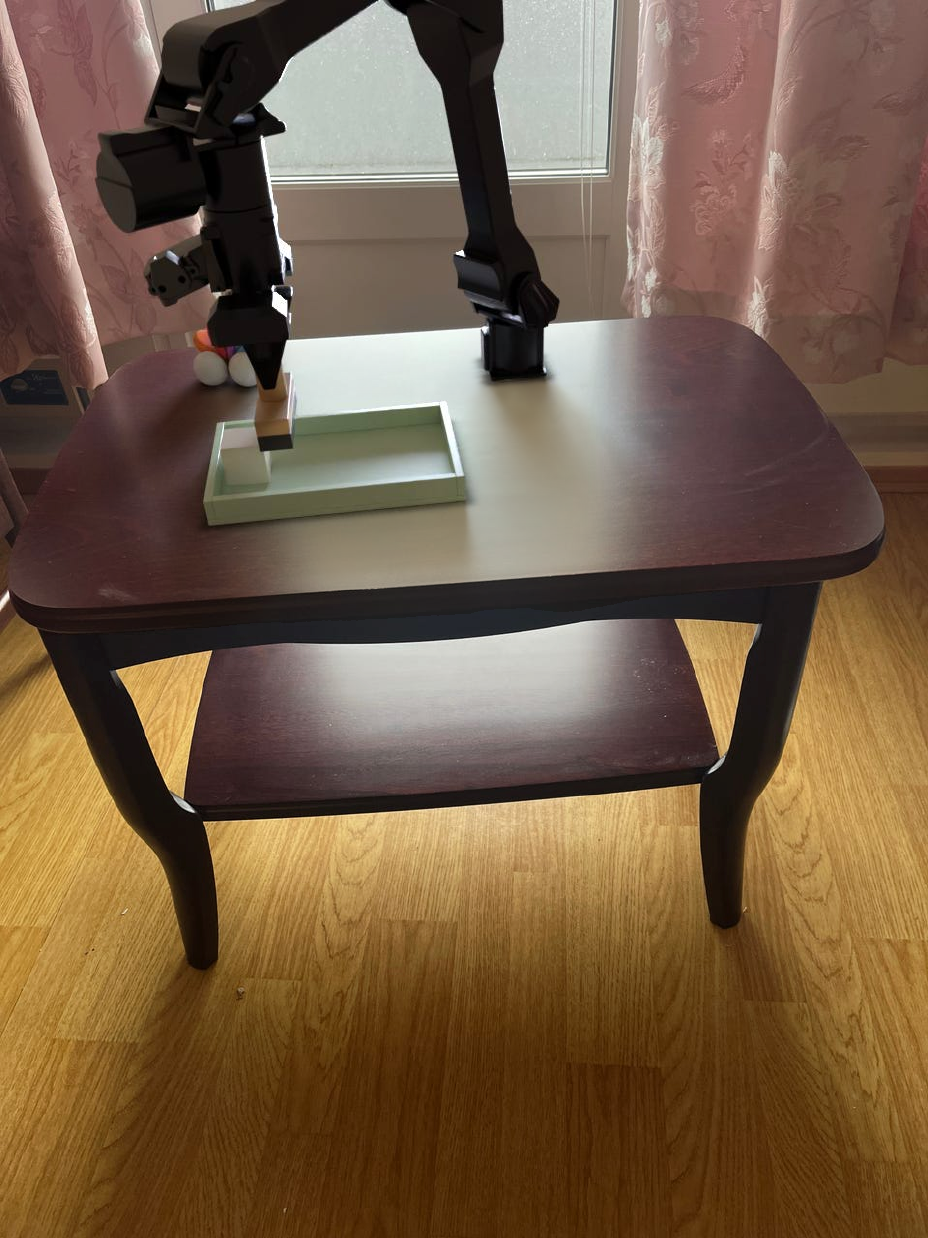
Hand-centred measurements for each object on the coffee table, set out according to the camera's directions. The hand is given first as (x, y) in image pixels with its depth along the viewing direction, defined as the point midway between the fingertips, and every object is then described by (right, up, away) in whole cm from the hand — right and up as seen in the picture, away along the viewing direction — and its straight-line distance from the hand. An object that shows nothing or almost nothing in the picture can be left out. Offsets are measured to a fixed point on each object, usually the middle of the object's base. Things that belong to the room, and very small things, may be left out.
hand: (270, 382), depth 87 cm
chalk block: (-3, -8, +5) cm, 10 cm away
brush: (0, -3, +3) cm, 4 cm away
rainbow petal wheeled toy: (-9, +7, +25) cm, 27 cm away
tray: (+5, -7, +6) cm, 11 cm away
